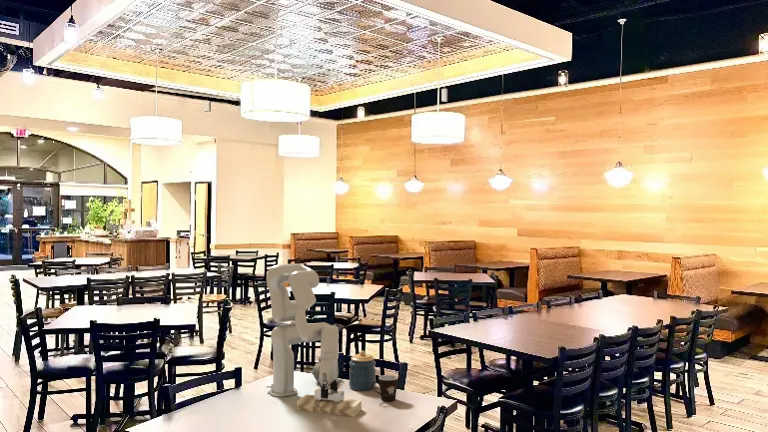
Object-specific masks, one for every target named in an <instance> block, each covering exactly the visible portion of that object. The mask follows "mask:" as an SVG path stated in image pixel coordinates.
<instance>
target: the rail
mask: <svg viewBox="0 0 768 432" xmlns="http://www.w3.org/2000/svg"><path fill="white" fill-rule="evenodd" d="M314 397H315V394H305V395H304V396H302V397H300V398H299V399H297V400H296V410H297V411H303V412H313V413H318V414H319V413H321V414H328V415H338V416H345V417H352V418H353V417H355V416H357V415H358V413H360V412H361V411H362V406H363V405H362V401H363V400H360V399H350V398H344V399H343V400H342V402H341V403H339V404H336V403H334V400H326V399H324V400H323V401H322V402H318V401H317V398H314Z"/></svg>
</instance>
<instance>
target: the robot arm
mask: <svg viewBox="0 0 768 432" xmlns="http://www.w3.org/2000/svg"><path fill="white" fill-rule="evenodd" d="M319 277H320V276H319V275H318V273H317V272H316V271H315V270H313V269H312V268H310V267H309V266H306V265H304V264H301V263H284V264H282V263H281V264H276V265H273V266H271V267H270V268H268V270H267V272H266V285H267V288H268V291H269V295H270V297H269V298H270V304H271V305H270V306H271V315H272V319H273V321H274V322H277V323H285V322H292V323H288V324H282V325H277V326H275V327H274V328H273V329H272V331H271V333H270V338H271V344H272V355H273V356H272V359H273V360H272V362H273V363H272V367H273V369H272V376H273V377H272V379H273V380H272V382H269V381H268V382H266V385H265V388H269V389H270V390H269V394H270V396H273V397H279V398H282V397H283V398H285V397H292V396H294V395H296V394H297V393H298V389H297V388H295V384H294V383H295V375H294V374H295V371H294V370H295V369H294V368H295V359H294V358H295V355H294V354H295V353H294V352H293V350H292V348H291V346H292V345H297V344H301V343H303V342H305V343H311V342H318V341H320V356H321V362H320V372H319V382H318V383H319V386H320V388H319V389H321V398H324V399H328V390H337V391H339V390H338V385H339V384H338V381H339V380H338V378H339V372H340V371H339V361H338V359H339V327H338V326H337V325H332V324H330V323H327V322H322V321H321V322H315V323H310V324H309V323H308V321H307V317H306V310H308V309H309V308H311V307H313V305H315V303H316V302H317V298H316V296H315V293H314V292H313V289H315V288H317V287H318V286H319V283H320V278H319ZM284 283H288V285H289V287H290V290H291V292H292V294H293V297H294V300H290V298H289V291H288V289H287V287H286V286H285V285H284ZM326 381H327V382H326ZM329 386H330V389H329Z"/></svg>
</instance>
